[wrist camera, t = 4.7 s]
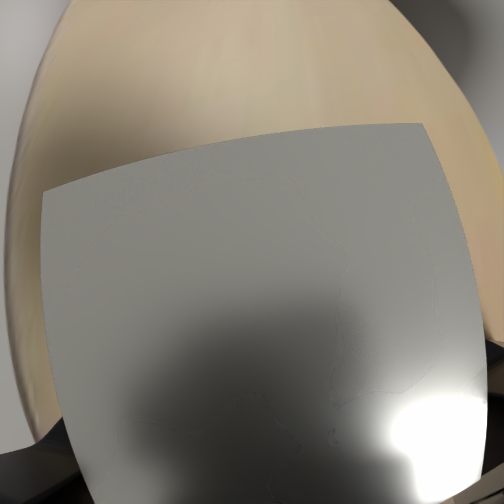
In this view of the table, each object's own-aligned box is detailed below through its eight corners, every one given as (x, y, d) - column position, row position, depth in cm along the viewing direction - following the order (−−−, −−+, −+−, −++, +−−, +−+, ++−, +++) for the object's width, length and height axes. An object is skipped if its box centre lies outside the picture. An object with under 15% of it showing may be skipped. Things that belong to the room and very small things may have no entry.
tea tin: (315, 361, 14) (480, 479, 2) (224, 378, 14) (120, 549, 2) (298, 272, 15) (421, 123, 3) (208, 289, 15) (43, 192, 3)
